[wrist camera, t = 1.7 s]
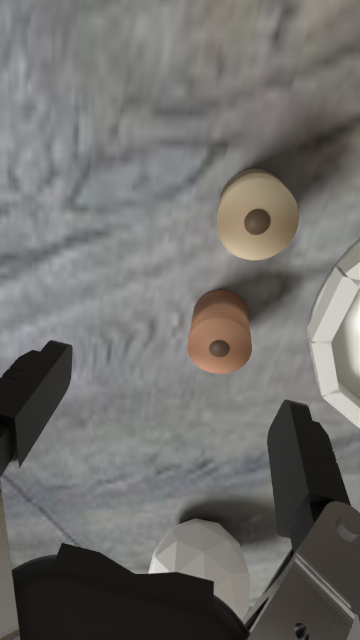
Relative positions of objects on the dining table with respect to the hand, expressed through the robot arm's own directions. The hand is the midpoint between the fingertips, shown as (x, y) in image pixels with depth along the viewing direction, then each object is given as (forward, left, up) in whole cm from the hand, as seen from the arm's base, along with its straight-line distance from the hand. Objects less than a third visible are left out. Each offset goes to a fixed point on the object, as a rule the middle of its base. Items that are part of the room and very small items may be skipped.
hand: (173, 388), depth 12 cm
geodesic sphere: (+42, +9, -18) cm, 47 cm away
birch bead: (-4, +3, -18) cm, 18 cm away
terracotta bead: (+6, +3, -18) cm, 19 cm away
